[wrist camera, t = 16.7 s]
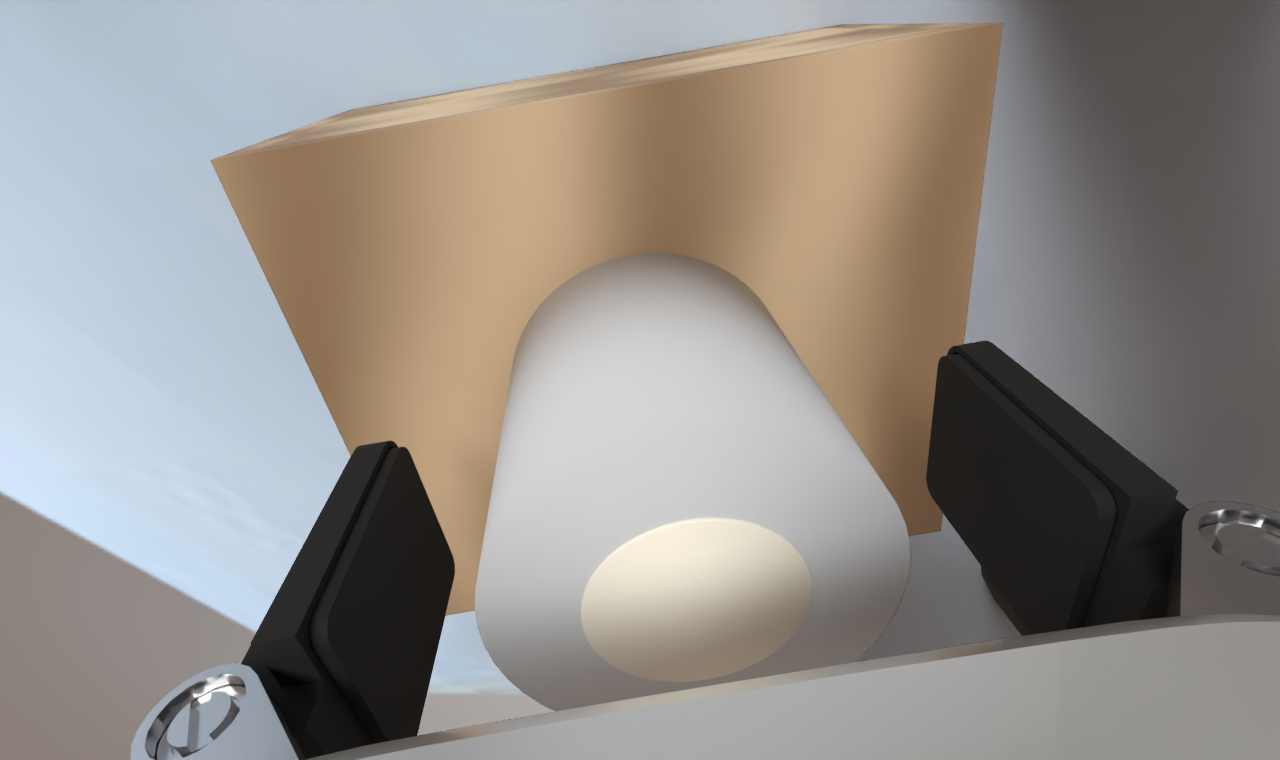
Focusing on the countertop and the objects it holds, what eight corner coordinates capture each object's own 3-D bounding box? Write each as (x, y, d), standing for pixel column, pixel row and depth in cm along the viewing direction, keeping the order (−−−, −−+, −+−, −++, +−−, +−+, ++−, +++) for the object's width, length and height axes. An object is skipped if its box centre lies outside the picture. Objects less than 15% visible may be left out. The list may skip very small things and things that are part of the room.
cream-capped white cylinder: (774, 225, 12) (924, 381, 7) (790, 462, 15) (904, 694, 10) (474, 287, 12) (403, 488, 7) (550, 511, 15) (540, 766, 10)
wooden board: (983, 23, 11) (1002, 23, 11) (929, 515, 17) (940, 530, 17) (226, 154, 11) (210, 160, 11) (432, 600, 17) (428, 618, 17)
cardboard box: (843, 24, 18) (981, 23, 11) (839, 388, 24) (929, 515, 17) (350, 109, 18) (228, 153, 12) (470, 452, 24) (432, 599, 17)
